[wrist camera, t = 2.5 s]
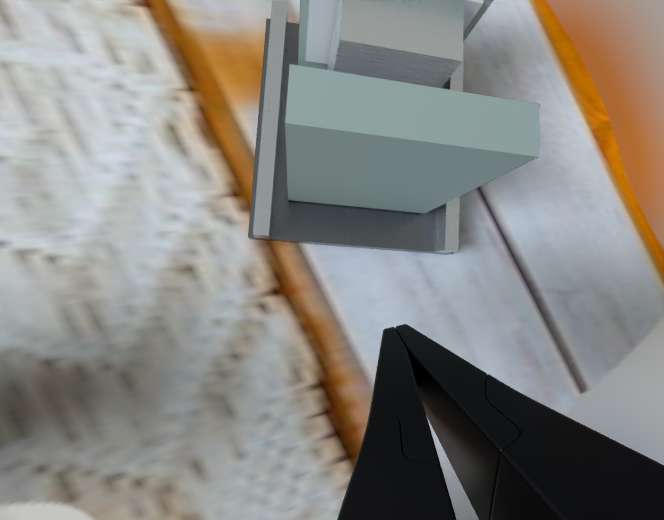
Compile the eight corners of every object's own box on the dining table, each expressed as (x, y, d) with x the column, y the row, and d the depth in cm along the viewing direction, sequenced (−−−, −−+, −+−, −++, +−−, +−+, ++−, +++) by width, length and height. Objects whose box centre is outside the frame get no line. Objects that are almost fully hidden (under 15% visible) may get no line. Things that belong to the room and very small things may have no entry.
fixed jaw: (427, 93, 23) (534, -53, 13) (297, 72, 21) (303, -109, 11) (429, 62, 23) (535, -105, 13) (300, 40, 21) (307, -166, 12)
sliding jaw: (425, 213, 22) (538, 156, 12) (287, 200, 20) (285, 123, 10) (426, 180, 22) (539, 97, 12) (290, 164, 20) (290, 55, 10)
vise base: (446, 254, 23) (465, 251, 20) (250, 239, 21) (244, 233, 18) (452, 62, 24) (470, 37, 22) (267, 30, 22) (264, -2, 20)
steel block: (400, 139, 22) (462, 61, 14) (321, 129, 21) (339, 39, 13) (402, 95, 22) (464, -7, 14) (324, 83, 21) (344, -32, 14)
